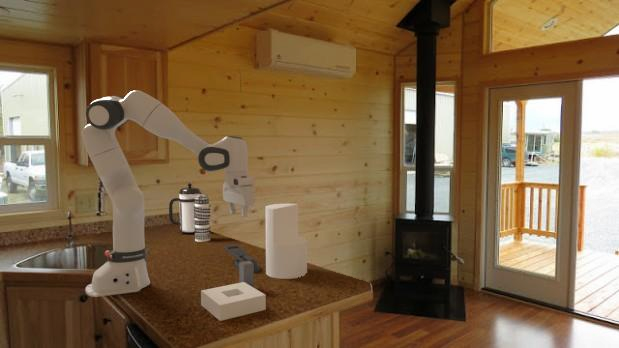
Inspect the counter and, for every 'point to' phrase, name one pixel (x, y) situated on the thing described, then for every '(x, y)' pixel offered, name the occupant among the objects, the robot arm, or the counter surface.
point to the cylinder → (284, 243)
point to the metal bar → (246, 272)
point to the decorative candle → (202, 218)
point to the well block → (233, 300)
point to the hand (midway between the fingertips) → (238, 215)
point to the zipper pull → (241, 256)
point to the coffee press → (185, 208)
